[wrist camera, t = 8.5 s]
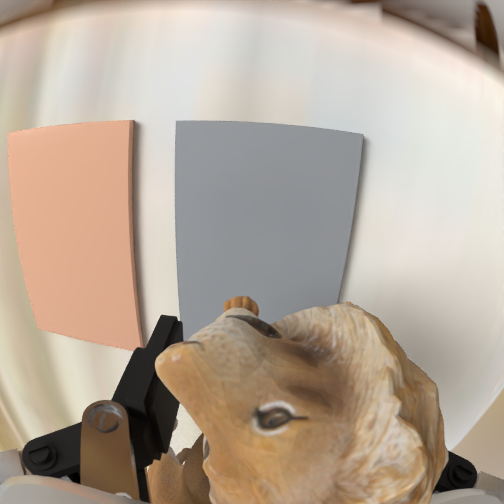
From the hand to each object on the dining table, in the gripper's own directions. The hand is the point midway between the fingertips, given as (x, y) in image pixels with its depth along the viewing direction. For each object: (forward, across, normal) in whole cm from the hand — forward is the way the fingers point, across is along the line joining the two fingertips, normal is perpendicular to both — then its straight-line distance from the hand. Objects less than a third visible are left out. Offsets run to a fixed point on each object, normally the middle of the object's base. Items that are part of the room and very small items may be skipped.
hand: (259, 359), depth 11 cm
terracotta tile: (+9, +13, 0) cm, 16 cm away
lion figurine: (+1, +1, +1) cm, 2 cm away
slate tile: (+9, 0, 0) cm, 9 cm away
